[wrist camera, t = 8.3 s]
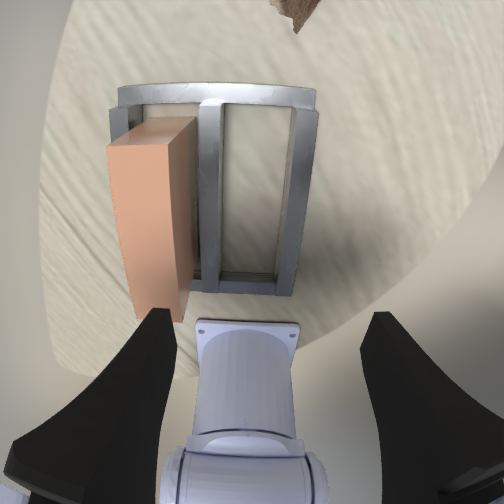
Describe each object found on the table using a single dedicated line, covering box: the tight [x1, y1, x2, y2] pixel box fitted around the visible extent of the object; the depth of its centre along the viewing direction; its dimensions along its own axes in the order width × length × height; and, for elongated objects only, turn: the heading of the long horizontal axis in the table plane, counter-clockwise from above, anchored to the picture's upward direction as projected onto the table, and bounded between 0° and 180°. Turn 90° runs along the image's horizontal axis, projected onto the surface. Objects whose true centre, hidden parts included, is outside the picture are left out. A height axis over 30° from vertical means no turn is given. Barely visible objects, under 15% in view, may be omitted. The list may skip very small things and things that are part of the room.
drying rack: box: [109, 82, 319, 296], centre depth 17 cm, size 13×10×2 cm
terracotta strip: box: [106, 117, 198, 323], centre depth 16 cm, size 9×2×6 cm, turn 177°
